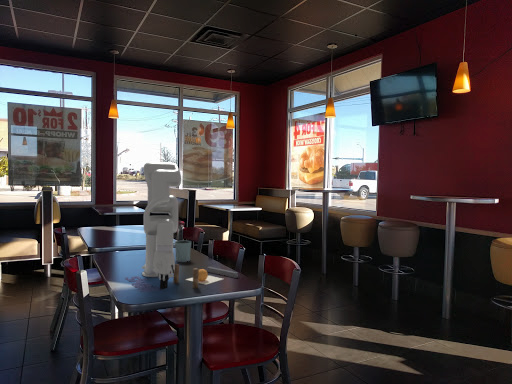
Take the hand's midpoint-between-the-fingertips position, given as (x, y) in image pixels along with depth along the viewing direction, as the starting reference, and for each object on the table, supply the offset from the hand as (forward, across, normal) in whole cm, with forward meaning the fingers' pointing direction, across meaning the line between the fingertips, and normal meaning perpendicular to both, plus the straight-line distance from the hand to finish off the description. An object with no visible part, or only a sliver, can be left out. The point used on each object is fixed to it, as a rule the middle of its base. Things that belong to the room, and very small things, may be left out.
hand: (163, 288), depth 176 cm
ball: (-2, 0, +25) cm, 25 cm away
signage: (+2, -18, +2) cm, 19 cm away
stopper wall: (+2, 0, +42) cm, 42 cm away
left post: (+2, -6, +14) cm, 16 cm away
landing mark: (+2, 0, +28) cm, 28 cm away
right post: (+2, +6, +14) cm, 16 cm away
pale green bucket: (+2, -41, +53) cm, 67 cm away
